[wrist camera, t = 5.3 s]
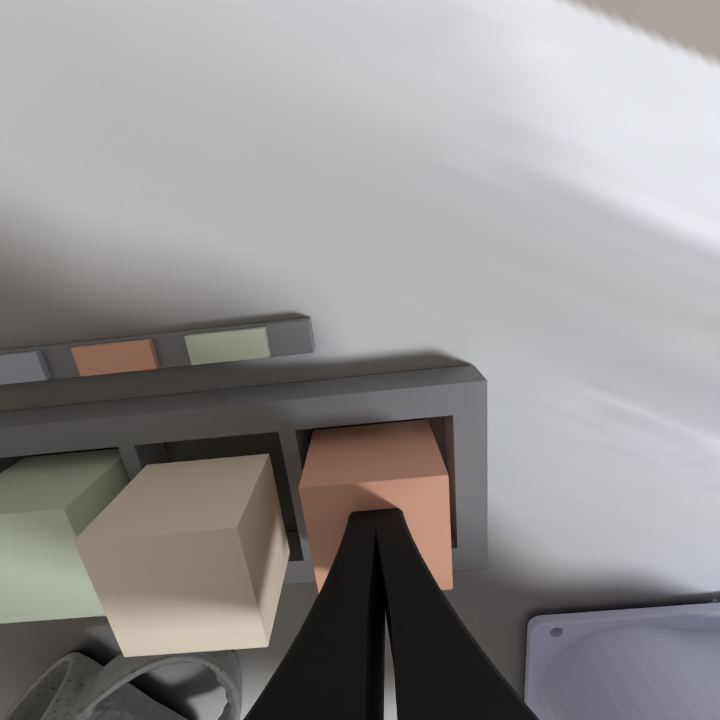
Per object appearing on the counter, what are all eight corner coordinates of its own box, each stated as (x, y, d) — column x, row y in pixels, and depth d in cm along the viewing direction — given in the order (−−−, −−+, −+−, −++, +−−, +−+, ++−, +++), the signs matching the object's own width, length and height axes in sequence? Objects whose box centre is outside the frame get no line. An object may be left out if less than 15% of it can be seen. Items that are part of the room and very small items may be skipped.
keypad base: (472, 364, 12) (486, 380, 11) (475, 537, 14) (487, 568, 13) (-166, 428, 13) (-228, 450, 11) (-72, 581, 15) (-114, 615, 14)
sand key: (268, 453, 11) (236, 527, 8) (289, 552, 12) (268, 646, 9) (146, 464, 11) (73, 541, 8) (178, 561, 12) (124, 657, 10)
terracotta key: (428, 419, 12) (448, 475, 9) (433, 513, 13) (453, 589, 10) (313, 430, 12) (298, 488, 9) (328, 522, 13) (319, 599, 10)
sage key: (132, 447, 12) (63, 508, 10) (162, 536, 14) (110, 615, 11) (25, 457, 13) (-75, 520, 10) (64, 544, 14) (-14, 624, 11)
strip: (310, 317, 11) (307, 322, 11) (315, 348, 12) (311, 354, 11) (-57, 356, 12) (-82, 362, 11) (-43, 384, 12) (-67, 393, 12)
